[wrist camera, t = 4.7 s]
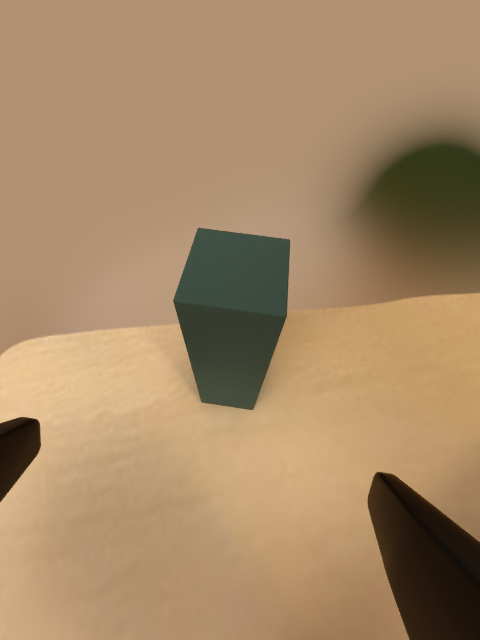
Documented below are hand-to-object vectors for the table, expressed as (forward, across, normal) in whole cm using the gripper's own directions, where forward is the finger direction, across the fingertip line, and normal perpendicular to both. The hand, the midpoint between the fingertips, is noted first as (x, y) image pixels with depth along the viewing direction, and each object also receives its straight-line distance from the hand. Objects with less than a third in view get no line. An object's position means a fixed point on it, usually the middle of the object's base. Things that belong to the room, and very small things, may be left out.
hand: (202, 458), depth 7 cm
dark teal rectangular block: (+14, 0, +4) cm, 14 cm away
